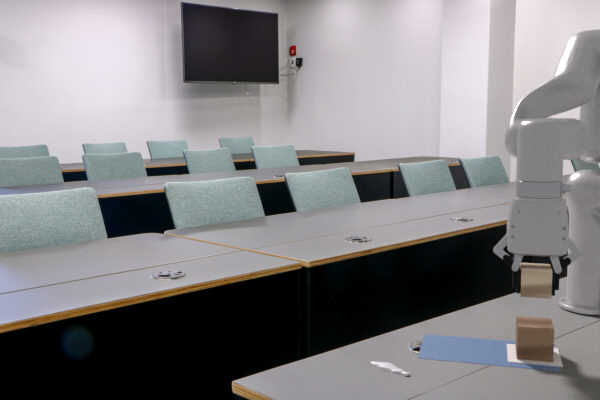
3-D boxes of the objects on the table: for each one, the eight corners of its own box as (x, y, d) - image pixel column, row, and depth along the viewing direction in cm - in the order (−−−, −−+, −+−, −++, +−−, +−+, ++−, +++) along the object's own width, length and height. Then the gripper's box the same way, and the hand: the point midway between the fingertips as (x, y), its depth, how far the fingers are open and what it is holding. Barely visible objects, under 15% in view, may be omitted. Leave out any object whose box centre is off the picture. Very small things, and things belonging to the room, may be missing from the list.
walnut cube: (553, 362, 109) (554, 329, 108) (516, 359, 111) (517, 326, 110) (549, 349, 115) (550, 318, 114) (515, 347, 117) (516, 316, 116)
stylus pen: (414, 379, 106) (414, 368, 106) (404, 384, 104) (404, 373, 104) (351, 359, 117) (350, 349, 117) (341, 363, 115) (340, 353, 115)
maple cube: (551, 298, 108) (552, 270, 107) (520, 296, 110) (521, 268, 109) (548, 291, 113) (549, 264, 112) (519, 289, 114) (520, 262, 114)
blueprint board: (556, 349, 118) (556, 344, 118) (564, 377, 106) (564, 371, 105) (424, 338, 125) (424, 333, 125) (417, 363, 113) (417, 357, 113)
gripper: (588, 189, 110) (584, 290, 112) (487, 187, 115) (485, 284, 117) (595, 194, 103) (590, 302, 105) (487, 192, 108) (484, 295, 110)
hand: (535, 291), depth 111 cm, fingers closed on maple cube, 4 cm apart
